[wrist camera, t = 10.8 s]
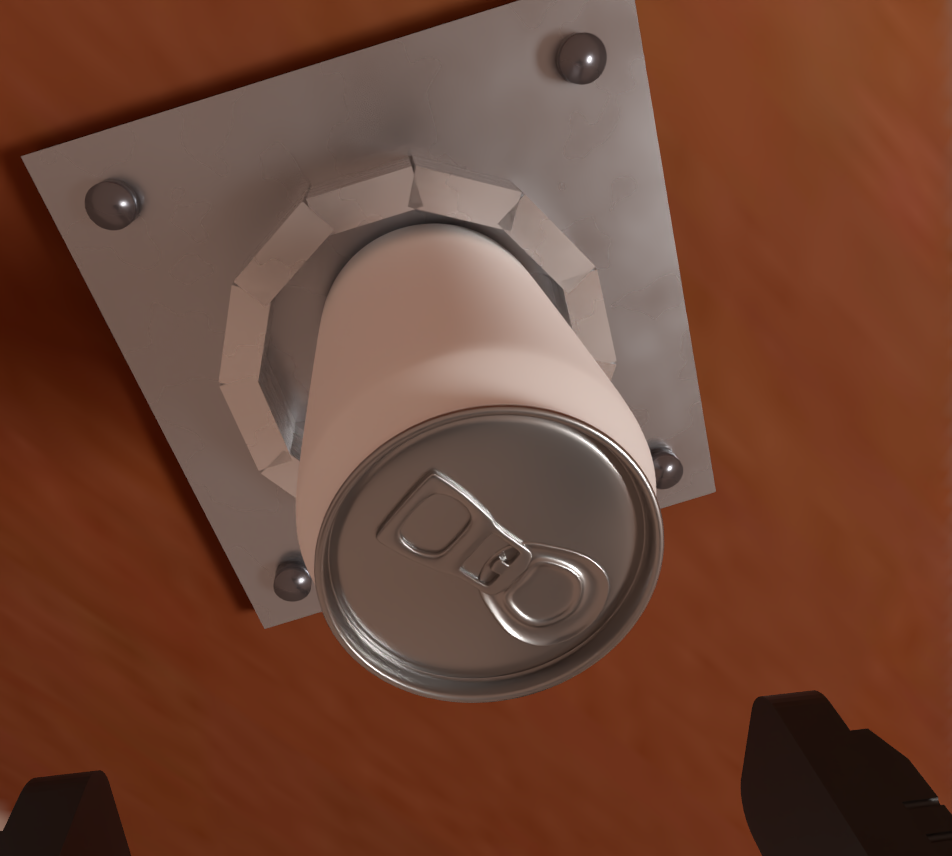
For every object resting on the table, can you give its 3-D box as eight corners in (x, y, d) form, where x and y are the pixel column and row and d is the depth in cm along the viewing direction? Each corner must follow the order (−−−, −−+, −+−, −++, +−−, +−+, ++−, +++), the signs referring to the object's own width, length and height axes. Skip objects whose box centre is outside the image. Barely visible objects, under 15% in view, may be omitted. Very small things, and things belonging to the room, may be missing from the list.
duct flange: (704, 477, 28) (740, 523, 25) (268, 610, 28) (257, 669, 26) (617, -31, 21) (654, -42, 18) (35, 151, 21) (-14, 167, 18)
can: (448, 468, 26) (513, 774, 15) (274, 350, 23) (200, 612, 12) (585, 312, 24) (770, 527, 13) (414, 169, 22) (468, 288, 11)
